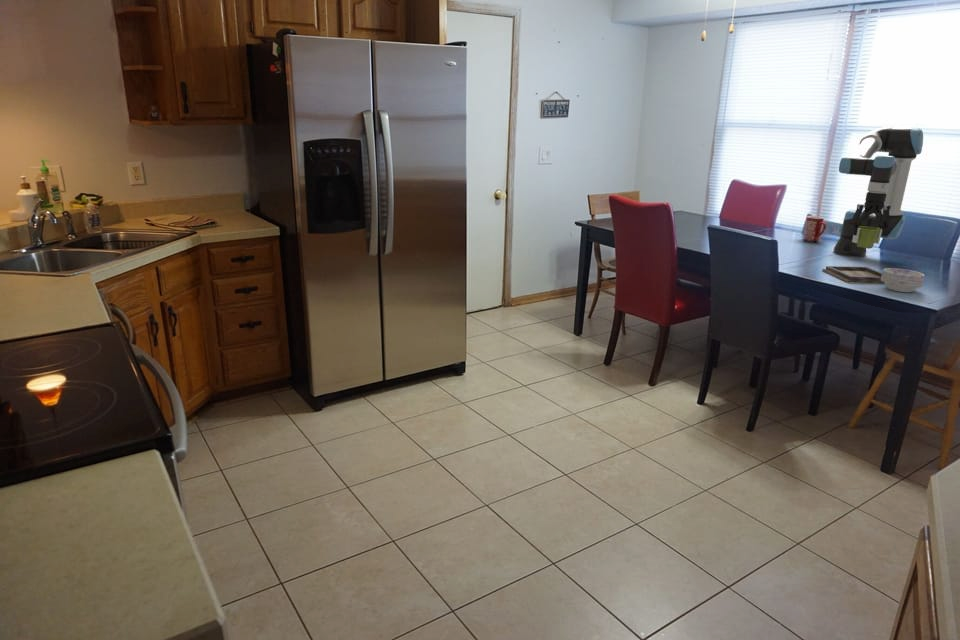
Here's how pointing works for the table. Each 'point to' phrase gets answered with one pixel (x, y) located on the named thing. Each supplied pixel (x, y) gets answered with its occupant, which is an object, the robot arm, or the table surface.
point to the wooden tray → (854, 274)
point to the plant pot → (867, 236)
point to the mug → (814, 228)
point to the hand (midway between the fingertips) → (865, 242)
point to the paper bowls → (902, 279)
